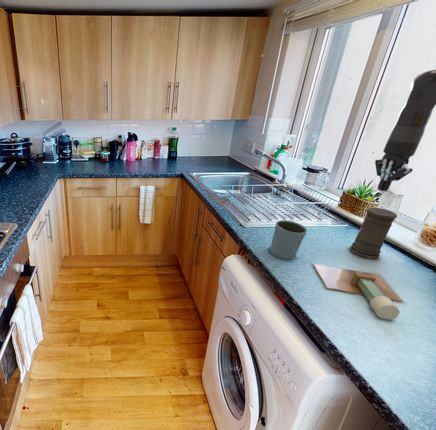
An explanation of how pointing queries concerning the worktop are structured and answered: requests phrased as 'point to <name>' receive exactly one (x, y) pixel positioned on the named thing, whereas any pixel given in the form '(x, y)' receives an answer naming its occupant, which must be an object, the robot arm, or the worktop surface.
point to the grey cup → (287, 239)
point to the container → (373, 233)
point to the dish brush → (375, 296)
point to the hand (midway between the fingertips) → (381, 190)
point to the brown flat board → (342, 281)
